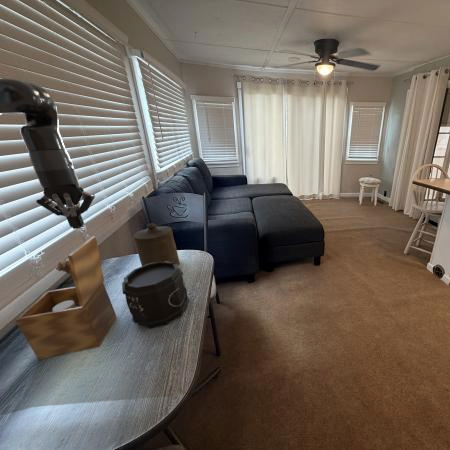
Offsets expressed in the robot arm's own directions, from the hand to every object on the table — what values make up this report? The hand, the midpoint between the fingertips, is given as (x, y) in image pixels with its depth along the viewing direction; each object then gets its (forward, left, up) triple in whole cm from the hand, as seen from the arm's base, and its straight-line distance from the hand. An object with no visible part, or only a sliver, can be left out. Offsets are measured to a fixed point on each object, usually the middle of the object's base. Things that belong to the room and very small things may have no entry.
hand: (78, 227), depth 70 cm
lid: (+2, -7, -11) cm, 13 cm away
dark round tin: (+16, -2, -33) cm, 37 cm away
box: (-6, -7, -33) cm, 34 cm away
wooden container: (+9, +30, -33) cm, 46 cm away
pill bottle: (-7, -7, -32) cm, 34 cm away
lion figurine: (-24, +32, -33) cm, 52 cm away
